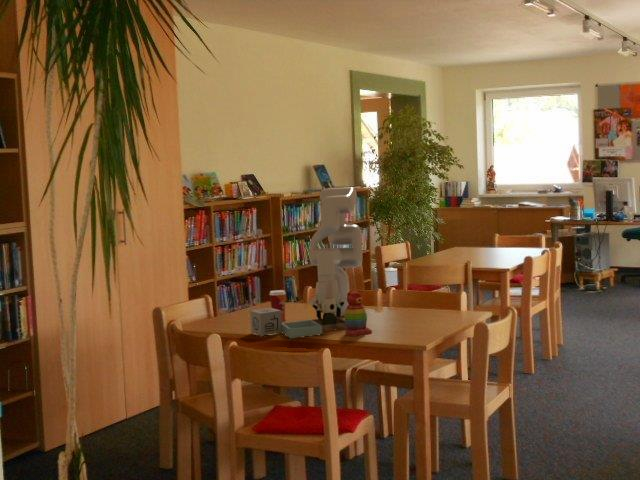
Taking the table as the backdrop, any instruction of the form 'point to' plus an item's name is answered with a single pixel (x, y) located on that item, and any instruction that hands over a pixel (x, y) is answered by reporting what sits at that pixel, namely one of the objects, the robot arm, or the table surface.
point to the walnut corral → (340, 324)
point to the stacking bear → (356, 315)
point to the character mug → (328, 311)
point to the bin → (301, 328)
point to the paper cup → (278, 301)
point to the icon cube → (266, 321)
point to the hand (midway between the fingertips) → (328, 317)
